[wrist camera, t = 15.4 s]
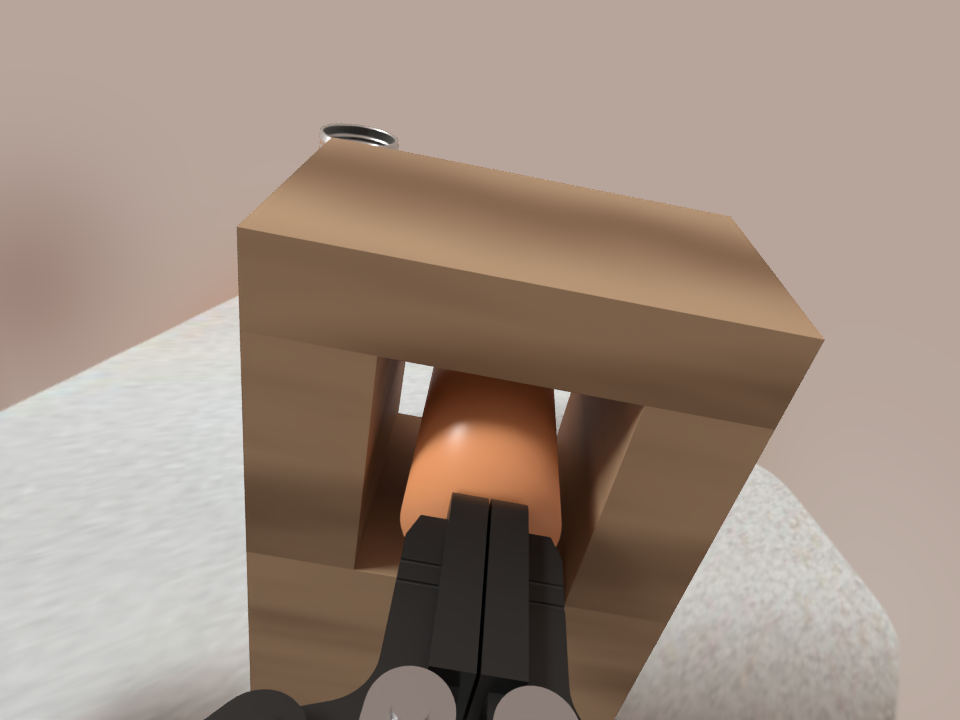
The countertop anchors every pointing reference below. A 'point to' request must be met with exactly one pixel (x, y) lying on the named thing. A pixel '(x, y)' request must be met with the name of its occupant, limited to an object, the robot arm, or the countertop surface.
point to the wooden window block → (504, 355)
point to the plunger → (486, 449)
